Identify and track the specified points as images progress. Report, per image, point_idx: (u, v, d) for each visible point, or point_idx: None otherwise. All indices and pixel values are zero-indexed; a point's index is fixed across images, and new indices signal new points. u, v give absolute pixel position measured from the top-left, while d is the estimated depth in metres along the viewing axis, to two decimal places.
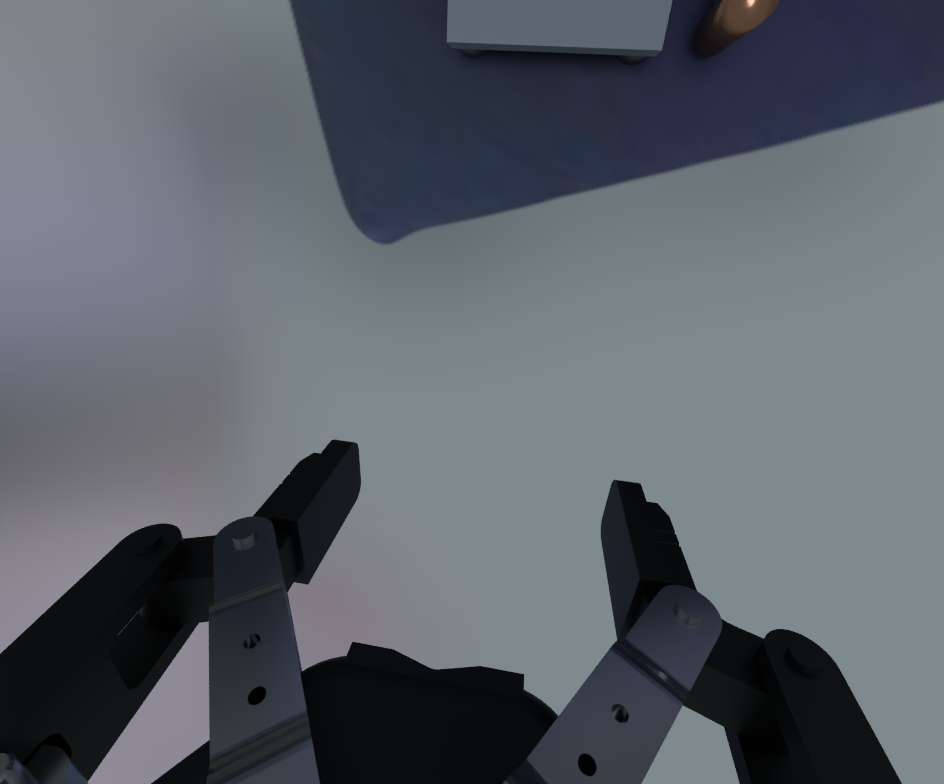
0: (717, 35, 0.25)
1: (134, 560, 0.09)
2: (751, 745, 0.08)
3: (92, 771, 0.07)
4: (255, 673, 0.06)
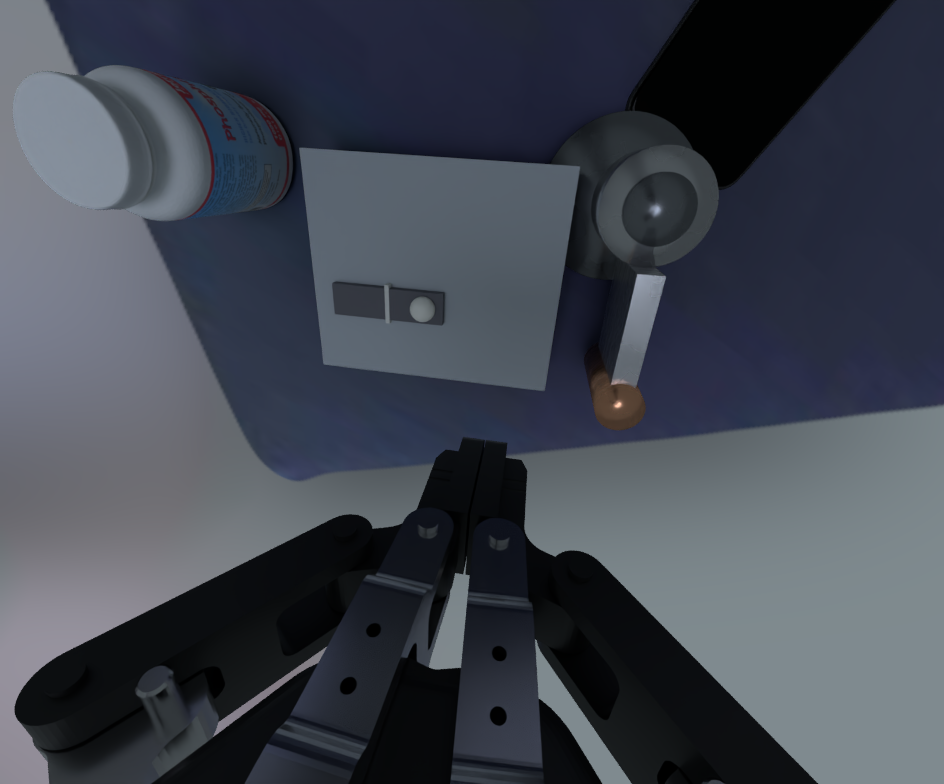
0: None
1: (329, 543, 0.09)
2: (568, 659, 0.09)
3: (236, 707, 0.09)
4: (359, 663, 0.07)
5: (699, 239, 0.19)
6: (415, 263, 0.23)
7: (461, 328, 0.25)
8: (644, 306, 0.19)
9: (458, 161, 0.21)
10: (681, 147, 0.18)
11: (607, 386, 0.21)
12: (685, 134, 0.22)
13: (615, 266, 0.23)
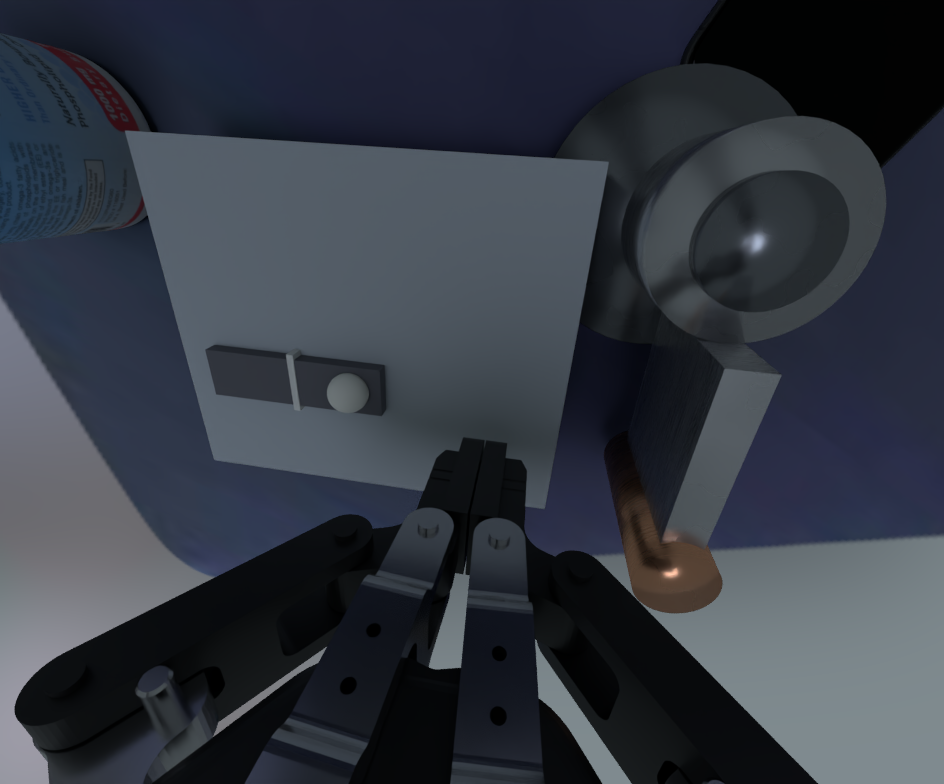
0: None
1: (330, 544, 0.09)
2: (568, 659, 0.09)
3: (236, 707, 0.09)
4: (359, 663, 0.07)
5: (834, 297, 0.10)
6: (334, 319, 0.14)
7: (413, 418, 0.16)
8: (733, 424, 0.10)
9: (393, 153, 0.12)
10: (820, 121, 0.09)
11: (654, 544, 0.12)
12: None
13: (659, 324, 0.15)
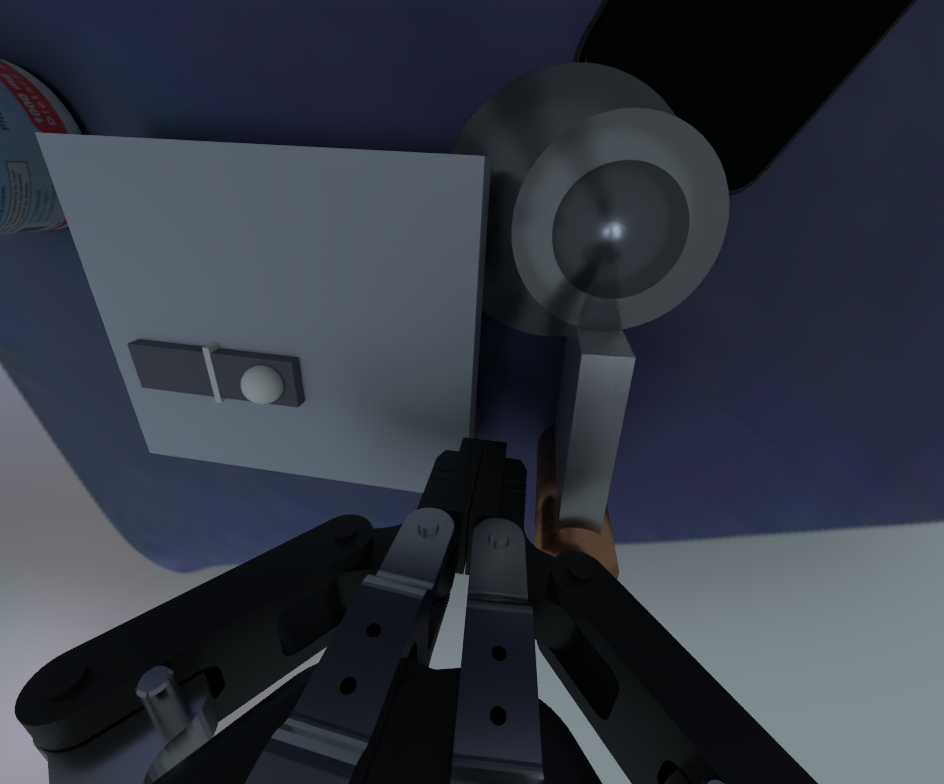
0: None
1: (330, 543, 0.09)
2: (568, 659, 0.09)
3: (236, 707, 0.09)
4: (359, 663, 0.07)
5: (697, 280, 0.10)
6: (246, 313, 0.15)
7: (331, 409, 0.16)
8: (600, 408, 0.10)
9: (283, 150, 0.12)
10: (651, 112, 0.09)
11: (552, 530, 0.12)
12: (670, 105, 0.13)
13: None
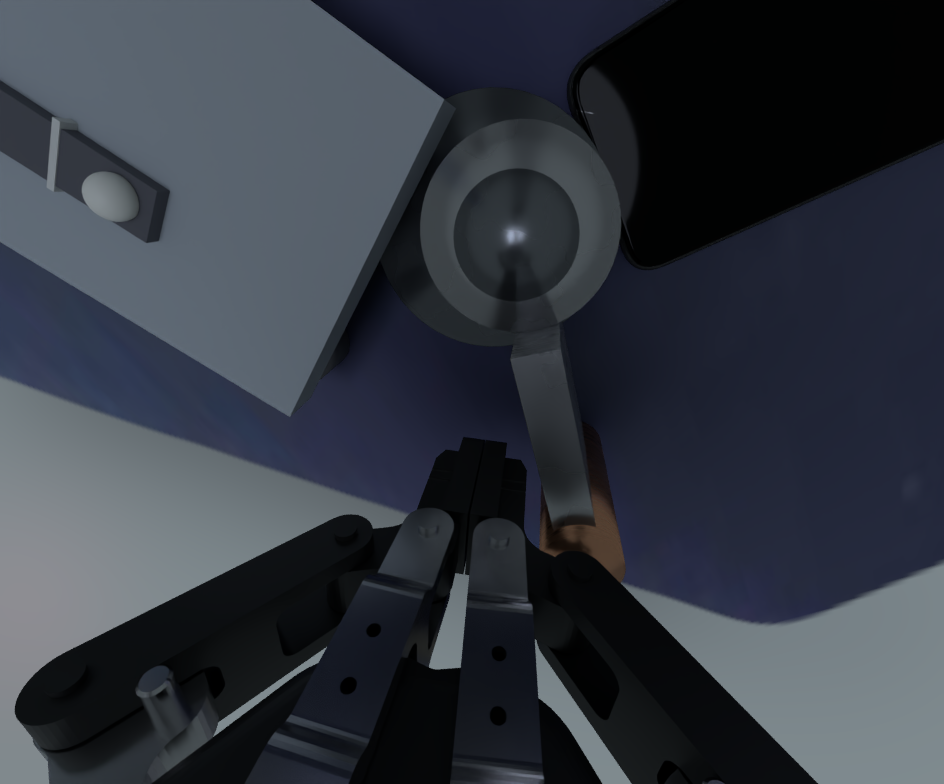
0: None
1: (330, 544, 0.09)
2: (568, 659, 0.09)
3: (236, 707, 0.09)
4: (359, 663, 0.07)
5: (611, 258, 0.11)
6: (126, 110, 0.12)
7: (185, 264, 0.14)
8: (547, 404, 0.11)
9: None
10: (508, 122, 0.10)
11: (549, 532, 0.12)
12: (627, 163, 0.14)
13: None
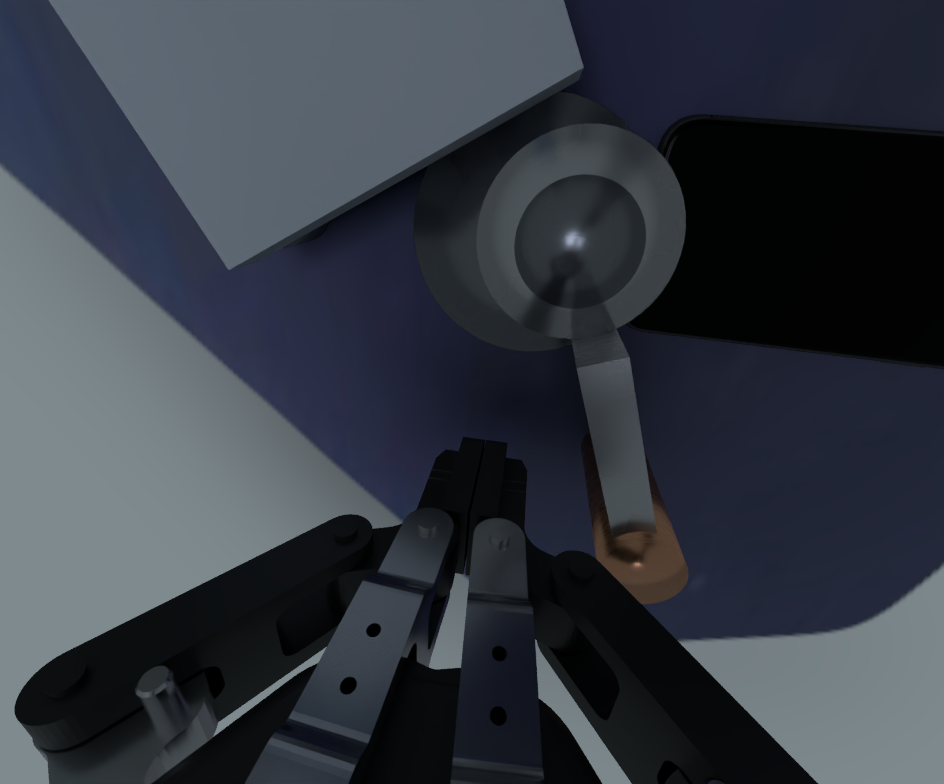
0: None
1: (329, 544, 0.09)
2: (568, 660, 0.09)
3: (236, 707, 0.09)
4: (359, 663, 0.07)
5: (673, 262, 0.10)
6: None
7: (195, 29, 0.11)
8: (613, 413, 0.10)
9: None
10: (572, 127, 0.09)
11: (608, 540, 0.12)
12: None
13: None
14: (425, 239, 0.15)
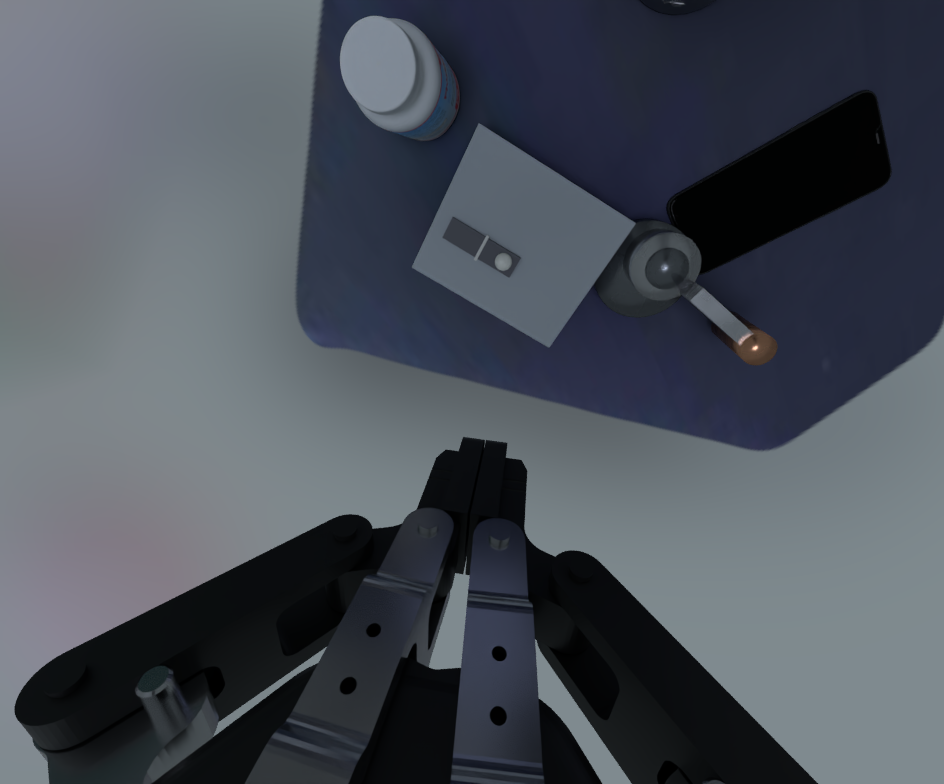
0: None
1: (329, 544, 0.09)
2: (568, 659, 0.09)
3: (236, 707, 0.09)
4: (359, 663, 0.07)
5: (699, 254, 0.32)
6: (512, 230, 0.34)
7: (518, 285, 0.36)
8: (710, 306, 0.31)
9: (571, 184, 0.32)
10: (646, 243, 0.32)
11: (739, 347, 0.32)
12: (691, 233, 0.36)
13: None
14: (605, 296, 0.37)
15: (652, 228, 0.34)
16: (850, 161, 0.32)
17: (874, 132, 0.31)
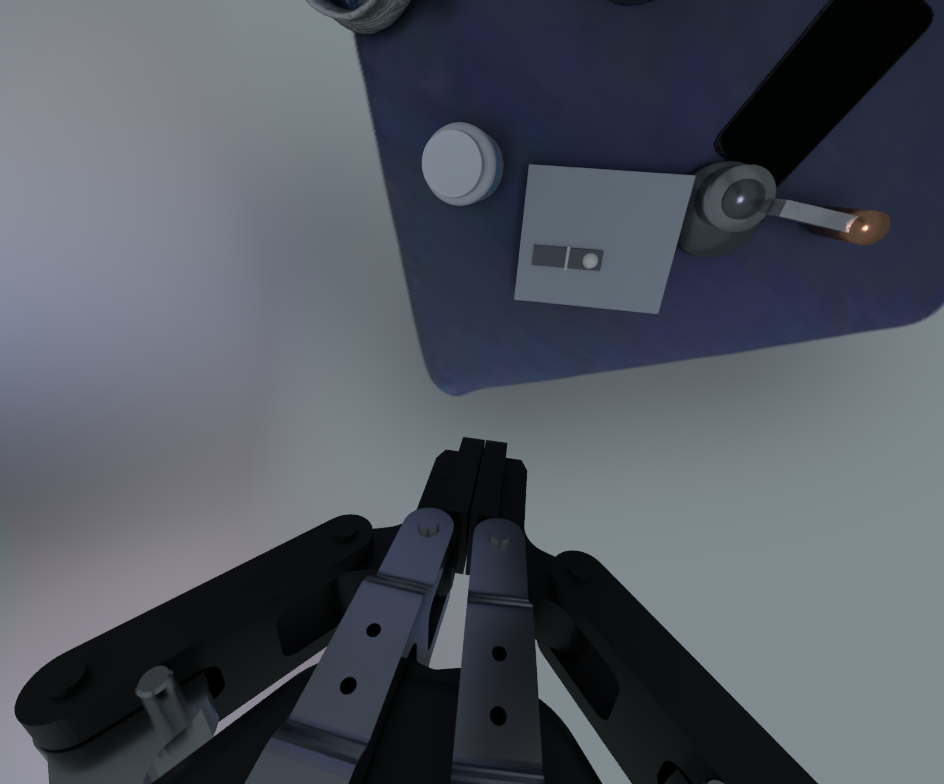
0: None
1: (329, 544, 0.09)
2: (568, 659, 0.09)
3: (236, 707, 0.09)
4: (359, 663, 0.07)
5: (768, 173, 0.34)
6: (587, 232, 0.39)
7: (610, 273, 0.40)
8: (801, 211, 0.33)
9: (624, 172, 0.36)
10: (714, 187, 0.34)
11: (848, 234, 0.33)
12: (749, 158, 0.38)
13: None
14: (690, 248, 0.40)
15: (711, 172, 0.37)
16: (883, 23, 0.33)
17: None
